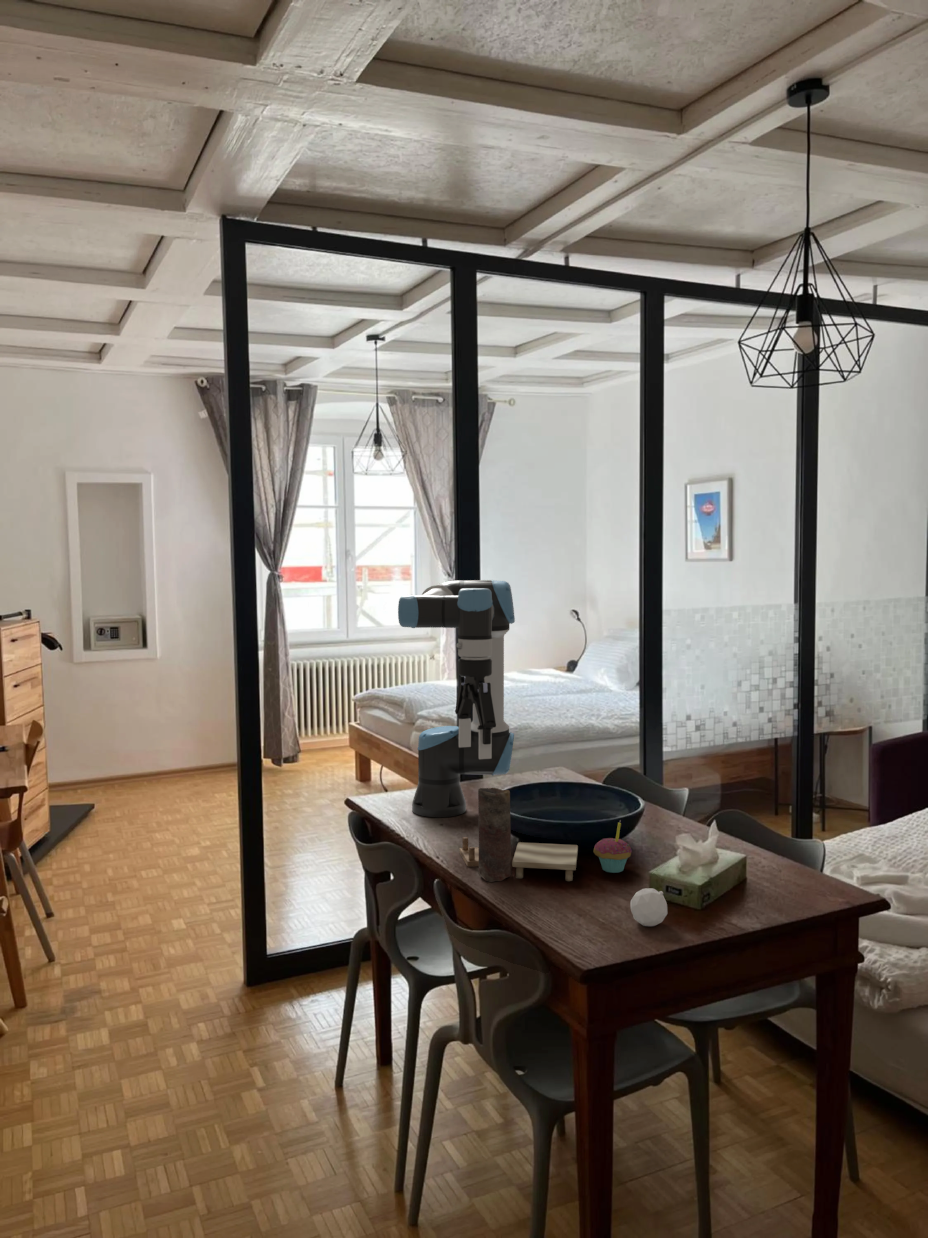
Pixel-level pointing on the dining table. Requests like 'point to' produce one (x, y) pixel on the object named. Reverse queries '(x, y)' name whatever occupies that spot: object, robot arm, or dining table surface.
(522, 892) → the dining table surface
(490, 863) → the brown wooden log
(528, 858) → the small wooden stool
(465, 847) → the upturned stool decor
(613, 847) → the cupcake
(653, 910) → the ornament
